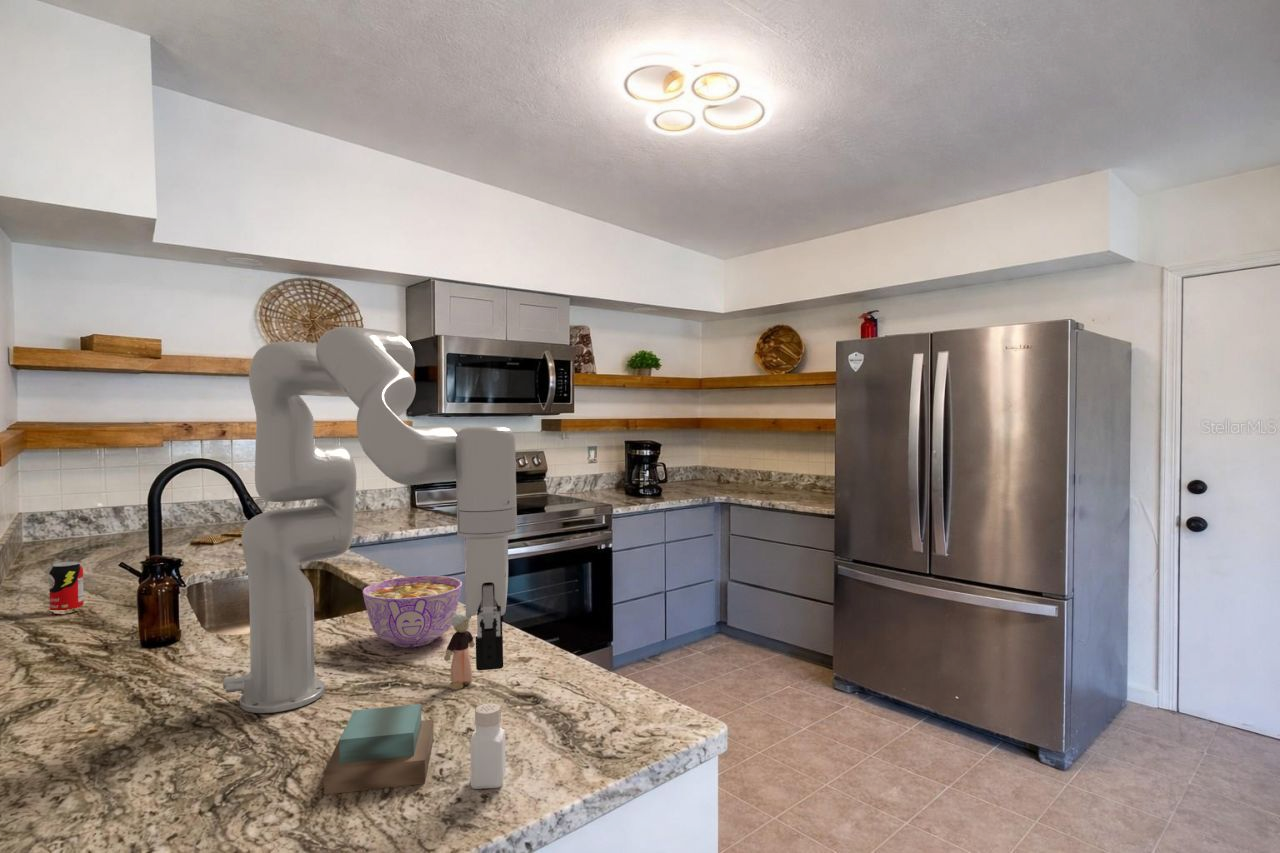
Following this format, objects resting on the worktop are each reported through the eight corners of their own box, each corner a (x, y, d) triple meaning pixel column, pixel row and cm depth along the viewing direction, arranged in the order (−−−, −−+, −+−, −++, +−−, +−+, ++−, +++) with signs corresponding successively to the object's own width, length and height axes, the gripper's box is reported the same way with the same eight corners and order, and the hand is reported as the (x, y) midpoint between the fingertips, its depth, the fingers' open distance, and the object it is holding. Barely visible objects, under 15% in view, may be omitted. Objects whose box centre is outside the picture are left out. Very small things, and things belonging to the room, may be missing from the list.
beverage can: (59, 609, 168) (58, 561, 168) (89, 607, 170) (88, 560, 170) (43, 616, 162) (43, 566, 162) (74, 615, 164) (73, 565, 163)
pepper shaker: (502, 789, 85) (501, 714, 85) (469, 791, 85) (469, 715, 85) (505, 773, 89) (505, 701, 89) (475, 774, 89) (474, 702, 89)
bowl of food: (407, 664, 129) (406, 604, 129) (342, 646, 139) (341, 590, 139) (482, 635, 146) (482, 582, 146) (419, 621, 156) (419, 571, 156)
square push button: (324, 794, 84) (323, 746, 84) (345, 748, 96) (344, 706, 96) (425, 783, 87) (424, 736, 87) (433, 739, 98) (433, 698, 98)
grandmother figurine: (461, 692, 115) (461, 618, 115) (441, 691, 116) (440, 617, 116) (481, 676, 123) (480, 606, 123) (461, 674, 124) (461, 605, 124)
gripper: (460, 515, 95) (463, 637, 95) (452, 534, 78) (456, 683, 78) (515, 513, 96) (517, 633, 96) (519, 530, 79) (522, 677, 79)
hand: (490, 655), depth 87 cm, fingers open, 9 cm apart
